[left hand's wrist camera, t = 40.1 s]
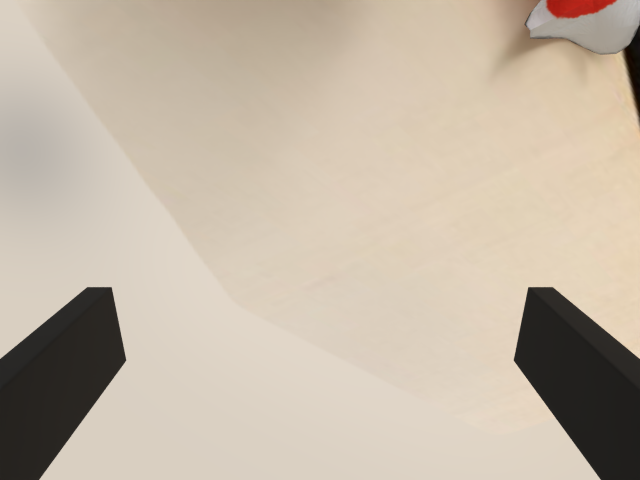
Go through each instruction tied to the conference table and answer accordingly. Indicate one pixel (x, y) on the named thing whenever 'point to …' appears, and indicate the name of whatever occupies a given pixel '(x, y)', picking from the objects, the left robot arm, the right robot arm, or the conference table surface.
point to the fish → (587, 23)
